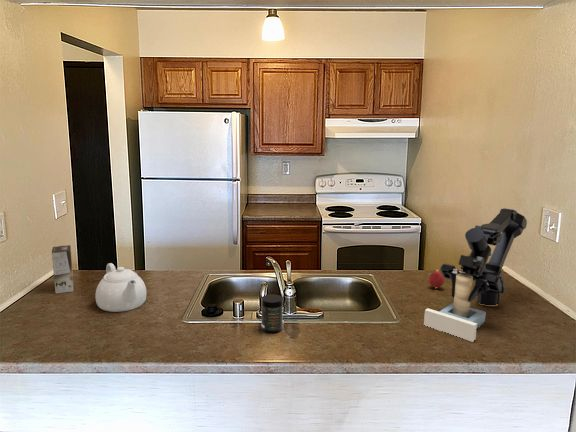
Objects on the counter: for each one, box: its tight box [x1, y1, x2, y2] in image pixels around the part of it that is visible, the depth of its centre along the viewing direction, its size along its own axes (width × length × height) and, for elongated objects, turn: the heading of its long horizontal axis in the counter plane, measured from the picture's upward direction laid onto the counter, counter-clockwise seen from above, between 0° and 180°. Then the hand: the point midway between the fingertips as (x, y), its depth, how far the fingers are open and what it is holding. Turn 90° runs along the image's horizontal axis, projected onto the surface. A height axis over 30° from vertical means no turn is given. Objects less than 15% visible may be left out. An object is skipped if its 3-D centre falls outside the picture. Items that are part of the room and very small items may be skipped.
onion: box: [428, 269, 445, 288], centre depth 183 cm, size 6×6×8 cm
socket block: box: [438, 302, 487, 329], centre depth 151 cm, size 11×11×4 cm
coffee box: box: [51, 244, 74, 294], centre depth 176 cm, size 9×6×16 cm
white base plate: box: [423, 307, 478, 343], centre depth 150 cm, size 20×16×6 cm
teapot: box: [95, 262, 147, 313], centre depth 164 cm, size 19×18×14 cm
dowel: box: [453, 274, 474, 318], centre depth 149 cm, size 5×5×14 cm
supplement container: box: [260, 293, 284, 334], centre depth 145 cm, size 7×7×10 cm
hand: (460, 299), depth 148 cm, fingers closed on dowel, 5 cm apart
